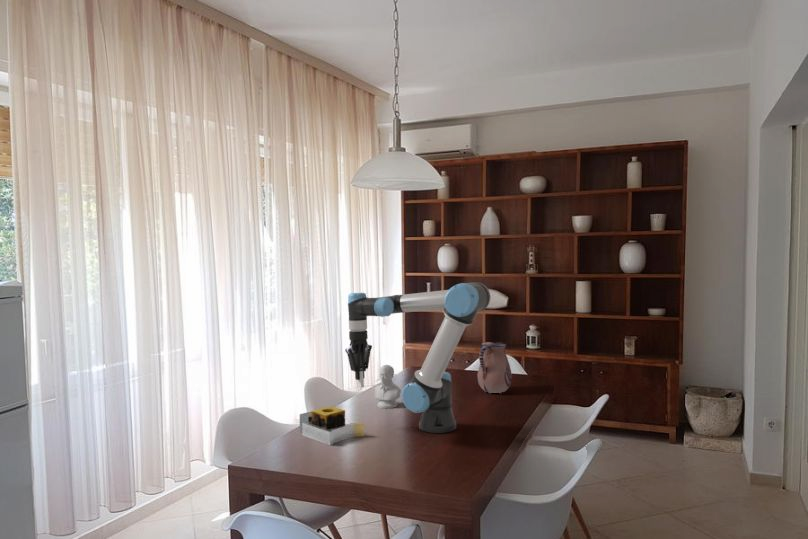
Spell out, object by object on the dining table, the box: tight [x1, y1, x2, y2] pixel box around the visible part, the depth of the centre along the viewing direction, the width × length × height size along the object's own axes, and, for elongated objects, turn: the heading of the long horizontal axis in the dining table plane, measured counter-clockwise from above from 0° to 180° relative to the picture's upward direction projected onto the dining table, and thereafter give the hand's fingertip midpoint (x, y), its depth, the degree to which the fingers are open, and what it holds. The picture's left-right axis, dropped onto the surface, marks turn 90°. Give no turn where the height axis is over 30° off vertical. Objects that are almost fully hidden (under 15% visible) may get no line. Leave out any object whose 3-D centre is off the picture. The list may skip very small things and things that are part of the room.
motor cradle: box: [299, 411, 365, 446], centre depth 222 cm, size 24×16×7 cm
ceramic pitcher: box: [476, 341, 513, 394], centre depth 285 cm, size 18×21×25 cm
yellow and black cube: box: [310, 405, 346, 430], centre depth 221 cm, size 10×10×10 cm
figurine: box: [374, 364, 402, 409], centre depth 263 cm, size 9×13×20 cm
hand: (360, 387), depth 231 cm, fingers closed
